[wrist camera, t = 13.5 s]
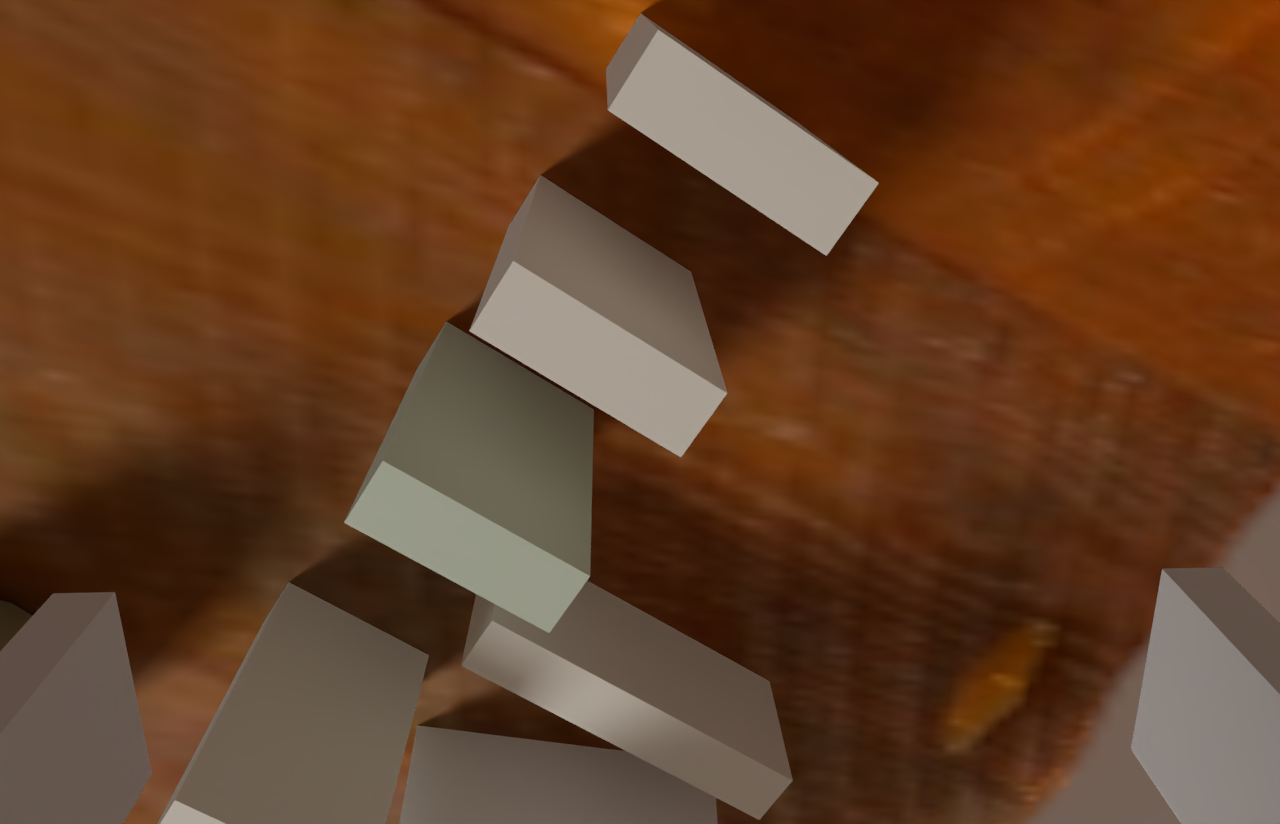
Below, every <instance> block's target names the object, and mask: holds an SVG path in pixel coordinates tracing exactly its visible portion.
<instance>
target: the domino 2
mask: <svg viewBox="0 0 1280 824" xmlns="http://www.w3.org/2000/svg"><path fill="white" fill-rule="evenodd" d="M593 427H594V409H592V408H591V407H589V406H587V405H586V404H584V403H582V402H581V401H579V400H577V399H576V398H574V397H572V396H571V395H569V394H567V393H566V392H564V391H562V390H561V389H559V388H557V387H556V386H554V385H552V384H551V383H549V382H547V381H545V380H544V379H542V378H540V377H539V376H537V375H535V374H534V373H532V372H530V371H529V370H527V369H525V368H524V367H522V366H520V365H519V364H517V363H515V362H514V361H512V360H510V359H509V358H507V357H505V356H504V355H502V354H500V353H499V352H497V351H495V350H494V349H492V348H490V347H488V346H487V345H485V344H483V343H482V342H480V341H478V340H477V339H475V338H473V337H472V336H470V335H468V334H467V333H465V332H463V331H462V330H460V329H458V328H457V327H455V326H453V325H452V324H450V323H448V322H447V321H446V323H445V324H444V326H443V328H442V329H441V331H440V333H439V334H438V336H437V337H436V339H435V341H434V342H433V344H432V345H431V347H430V349H429V350H428V352H427V354H426V355H425V357H424V358H423V360H422V362H421V363H420V365H419V367H418V368H417V370H416V372H415V375H414V377H413V379H412V381H411V383H410V385H409V387H408V389H407V391H406V393H405V396H404V398H403V400H402V402H401V404H400V406H399V408H398V410H397V412H396V415H395V417H394V419H393V421H392V423H391V425H390V427H389V429H388V431H387V433H386V436H385V438H384V440H383V442H382V444H381V446H380V448H379V450H378V452H377V454H376V457H375V459H374V461H373V463H372V465H371V467H370V469H369V471H368V473H367V475H366V478H365V480H364V482H363V484H362V486H361V488H360V490H359V492H358V494H357V497H356V499H355V501H354V503H353V505H352V507H351V509H350V511H349V513H348V515H347V518H346V520H345V522H344V523H345V524H347V525H349V526H351V527H353V528H355V529H357V530H358V531H360V532H362V533H364V534H366V535H368V536H370V537H371V538H373V539H375V540H377V541H379V542H381V543H383V544H384V545H386V546H388V547H390V548H392V549H394V550H396V551H397V552H399V553H401V554H403V555H405V556H407V557H409V558H410V559H412V560H414V561H416V562H418V563H420V564H422V565H423V566H425V567H427V568H429V569H431V570H433V571H435V572H436V573H438V574H440V575H442V576H444V577H446V578H448V579H449V580H451V581H453V582H455V583H457V584H459V585H460V586H462V587H464V588H466V589H468V590H470V591H472V592H473V593H475V594H477V595H479V596H481V597H483V598H485V599H486V600H488V601H490V602H492V603H494V604H496V605H498V606H499V607H501V608H503V609H505V610H507V611H509V612H511V613H512V614H514V615H516V616H518V617H520V618H522V619H524V620H525V621H527V622H529V623H531V624H533V625H535V626H537V627H538V628H540V629H542V630H544V631H546V632H548V633H550V632H551V630H552V629H553V627H554V626H555V625H556V623H557V622H558V620H559V619H560V618H561V616H562V615H563V614H564V612H565V611H566V609H567V608H568V607H569V605H570V604H571V602H572V601H573V600H574V598H575V597H576V595H577V594H578V593H579V591H580V590H581V588H582V587H583V586H584V584H585V583H586V582H587V580H588V579H589V577H590V566H591V519H592V473H593Z"/></svg>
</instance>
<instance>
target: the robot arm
mask: <svg viewBox="0 0 1280 824" xmlns="http://www.w3.org/2000/svg"><path fill="white" fill-rule="evenodd" d="M1131 750H1132V752H1133V753H1134V754H1135V756H1136V758H1137V759H1138V760H1139V762H1140V763H1141V765H1142V766H1143V768H1144V769H1145V771H1146V772H1147V774H1148V775H1149V777H1150V778H1151V780H1152V781H1153V783H1154V784H1155V786H1156V787H1157V789H1158V790H1159V792H1160V793H1161V795H1162V796H1163V798H1164V799H1165V800H1166V802H1167V803H1168V805H1169V806H1170V808H1171V809H1172V811H1173V812H1174V814H1175V815H1176V817H1177V818H1178V820H1179V821H1180V823H1181V824H1280V623H1279V622H1278V621H1277V620H1276V619H1275V618H1274V617H1273V616H1272V615H1271V614H1270V613H1269V612H1268V611H1267V610H1266V609H1265V608H1264V607H1263V606H1262V605H1261V604H1260V603H1258V601H1257V600H1256V599H1254V598H1253V597H1252V596H1251V595H1250V594H1249V593H1248V592H1247V591H1246V590H1245V589H1244V588H1243V587H1242V586H1241V585H1240V584H1239V583H1238V582H1237V581H1236V580H1235V579H1234V578H1233V577H1232V576H1231V575H1230V574H1228V573H1227V572H1226V571H1225V570H1224V569H1223V568H1222V567H1218V568H1173V569H1162V572H1161V578H1160V584H1159V590H1158V595H1157V601H1156V607H1155V613H1154V618H1153V624H1152V630H1151V636H1150V641H1149V647H1148V653H1147V659H1146V664H1145V670H1144V676H1143V682H1142V688H1141V694H1140V699H1139V705H1138V711H1137V716H1136V722H1135V728H1134V734H1133V740H1132V745H1131ZM151 775H152V771H151V766H150V761H149V756H148V752H147V747H146V742H145V737H144V732H143V727H142V722H141V717H140V712H139V707H138V702H137V697H136V692H135V688H134V683H133V678H132V673H131V668H130V663H129V658H128V653H127V648H126V643H125V638H124V633H123V628H122V623H121V619H120V614H119V609H118V604H117V599H116V594H115V592H95V593H53V594H52V595H51V596H50V597H49V598H48V599H47V601H46V602H45V603H44V604H43V605H42V606H41V607H40V608H39V609H38V610H37V612H36V613H35V614H34V615H33V616H32V617H31V618H30V619H29V620H28V621H27V623H26V624H25V625H24V626H23V627H22V628H21V629H20V630H19V631H18V632H17V634H16V635H15V636H14V637H13V638H12V639H11V640H10V641H9V642H8V643H7V645H6V646H5V647H4V648H3V649H2V650H1V651H0V824H123V823H124V821H125V820H126V818H127V816H128V815H129V813H130V811H131V809H132V808H133V806H134V804H135V802H136V801H137V799H138V797H139V795H140V794H141V792H142V790H143V789H144V787H145V785H146V783H147V782H148V780H149V778H150V776H151Z"/></svg>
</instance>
